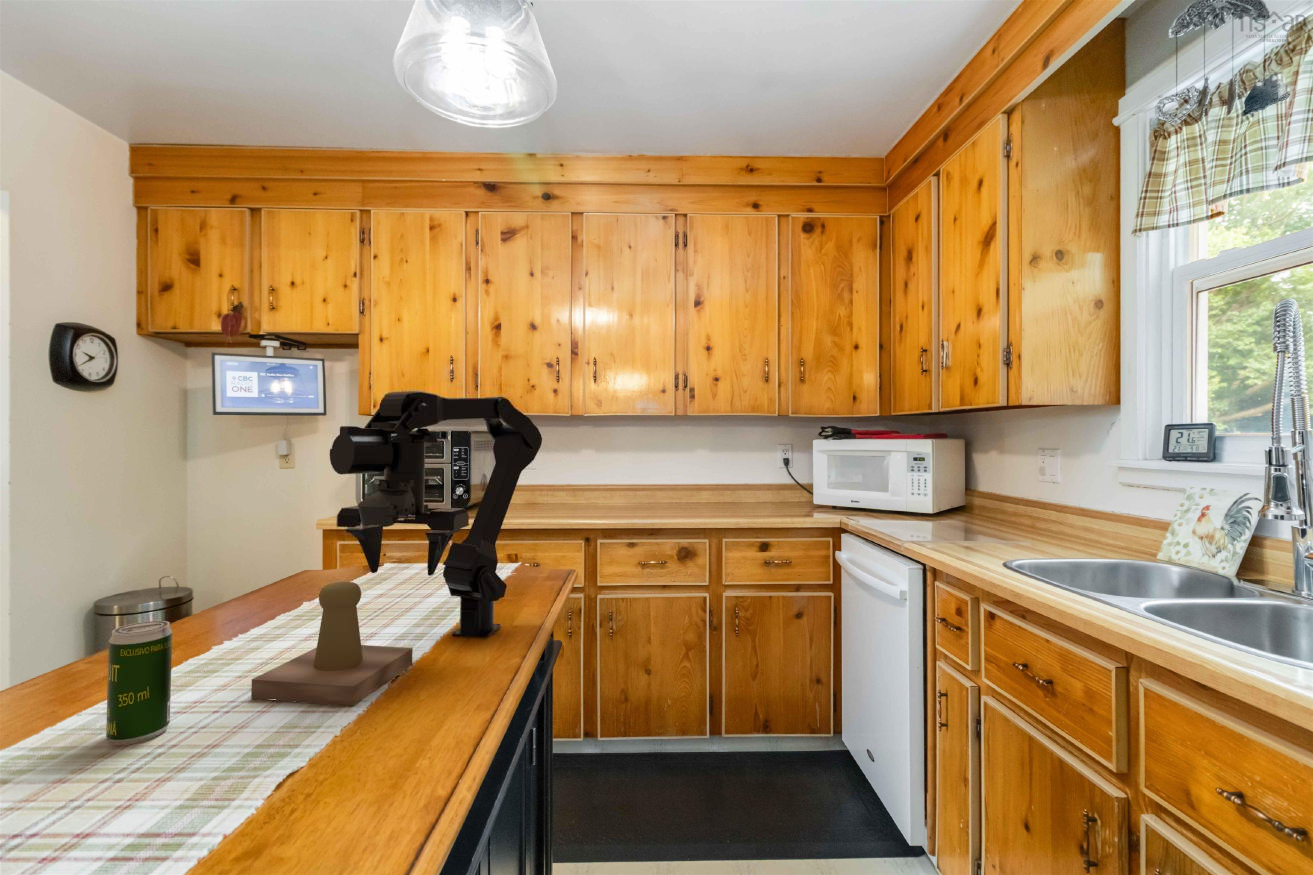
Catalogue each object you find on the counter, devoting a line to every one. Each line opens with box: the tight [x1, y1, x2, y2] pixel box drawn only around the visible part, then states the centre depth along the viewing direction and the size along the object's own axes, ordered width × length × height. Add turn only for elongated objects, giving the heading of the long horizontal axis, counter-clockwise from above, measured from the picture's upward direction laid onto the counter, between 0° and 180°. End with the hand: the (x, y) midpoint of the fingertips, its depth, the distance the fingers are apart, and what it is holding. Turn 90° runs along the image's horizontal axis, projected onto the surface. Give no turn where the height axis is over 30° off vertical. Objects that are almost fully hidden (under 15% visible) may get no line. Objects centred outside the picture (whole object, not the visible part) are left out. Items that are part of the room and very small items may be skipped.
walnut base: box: [250, 644, 414, 707], centre depth 81 cm, size 14×14×2 cm
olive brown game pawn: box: [314, 581, 363, 671], centre depth 81 cm, size 6×6×11 cm
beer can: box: [105, 620, 173, 746], centre depth 65 cm, size 5×5×12 cm
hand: (402, 573), depth 89 cm, fingers open, 9 cm apart
